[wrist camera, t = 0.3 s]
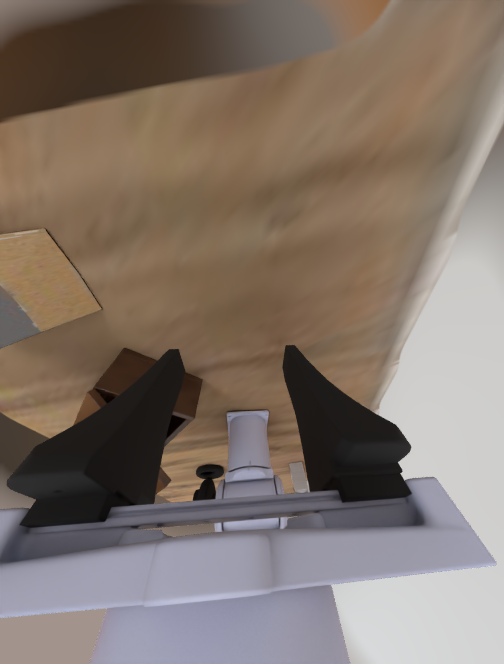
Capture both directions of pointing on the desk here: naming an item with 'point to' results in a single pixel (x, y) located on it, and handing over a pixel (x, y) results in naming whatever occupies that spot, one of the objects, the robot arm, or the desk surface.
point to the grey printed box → (298, 477)
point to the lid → (95, 403)
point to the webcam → (207, 482)
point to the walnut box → (131, 369)
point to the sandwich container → (38, 287)
